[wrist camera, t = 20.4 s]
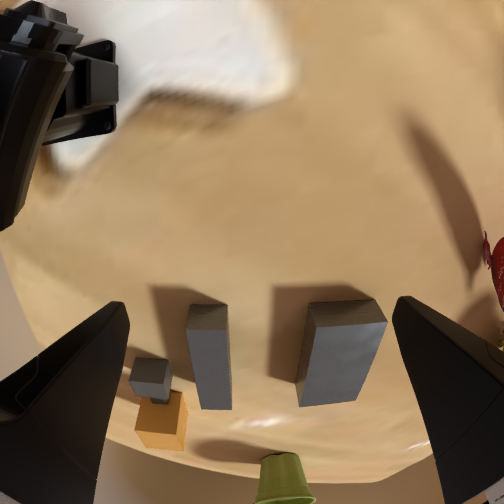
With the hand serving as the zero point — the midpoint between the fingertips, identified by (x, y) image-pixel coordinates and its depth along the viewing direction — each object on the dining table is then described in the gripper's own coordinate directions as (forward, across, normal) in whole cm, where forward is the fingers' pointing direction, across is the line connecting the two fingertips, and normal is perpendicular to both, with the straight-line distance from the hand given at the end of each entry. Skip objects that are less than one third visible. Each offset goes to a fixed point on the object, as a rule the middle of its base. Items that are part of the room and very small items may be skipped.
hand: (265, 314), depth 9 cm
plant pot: (+12, -5, +42) cm, 44 cm away
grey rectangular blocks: (+12, -3, +14) cm, 19 cm away
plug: (+12, +10, +21) cm, 26 cm away
